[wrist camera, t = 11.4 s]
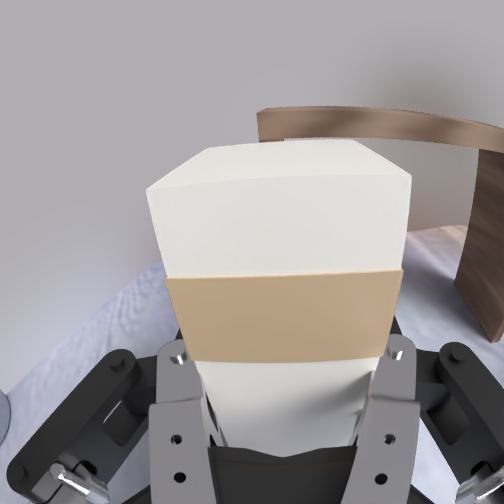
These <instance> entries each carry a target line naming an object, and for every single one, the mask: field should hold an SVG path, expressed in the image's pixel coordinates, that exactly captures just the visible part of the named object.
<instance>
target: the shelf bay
mask: <svg viewBox="0 0 504 504" xmlns="http://www.w3.org/2000/svg"><path fill="white" fill-rule="evenodd" d="M257 122H258V133H259V143H264V142H280V141H284V138H310V137H311V138H312V137H354V138H355V137H357V138H382V139H383V138H384V139H401V140H413V141H425V142H434V143H444V144H451V145H459V146H466V147H472V148H478V149H479V158H478V168H477V177H476V185H475V192H474V198H473V205H472V210H471V216H470V221H469V226H468V231H467V235H466V240H465V244H464V248H463V252H462V256H461V260H460V264H459V267H458V271H457V274H456V278H455V281H454V284H455V286H456V287H457V289H458V290H459V292H460V293H461V295H462V296H463V298H464V299H465V301H466V302H467V304H468V305H469V307H470V308H471V310H472V311H473V313H474V315H475V316H476V318H477V319H478V321H479V323H480V324H481V326H482V328H483V329H484V331H485V333H486V334H487V336H488V338H489V340H490V341H491V343H493V342H497V341H500V339H501V337H502V335H503V333H504V129H503V128H500V127H497V126H493V125H489V124H485V123H481V122H476V121H471V120H466V119H461V118H456V117H450V116H444V115H437V114H430V113H423V112H415V111H406V110H396V109H384V108H368V107H341V106H305V107H279V108H266V109H264V110H262V111H260V112H258V113H257Z"/></svg>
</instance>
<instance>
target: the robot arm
mask: <svg viewBox="0 0 504 504" xmlns="http://www.w3.org/2000/svg"><path fill="white" fill-rule="evenodd" d="M119 401H121V403H120V404H119V405H118V406H117V408H116V409H115V410H114V411H113V413H112V414H111V415H110V416H109V418H108V419H107V420H106V421H105V423H104V424H103V422H104V420H105V418H106V417H107V416H108V415H109V413H110V412H111V411H112V410H113V408H114V407H115V406H116V405H117V404H118V402H119ZM420 418H421V419H422V421H423V422H424V424H425V426H426V427H427V429H428V431H429V432H430V434H431V436H432V437H433V439H434V441H435V442H436V444H437V446H438V447H439V449H440V451H441V452H442V454H443V456H444V458H445V459H446V461H447V463H448V465H449V466H450V468H451V470H452V472H453V473H454V475H455V477H456V479H457V481H458V482H459V484H460V487H459V488H458V491H457V494H456V500H455V504H504V389H503V387H502V386H501V385H500V384H499V382H498V381H497V380H496V379H495V377H494V376H493V375H492V374H491V373H490V371H489V370H488V369H487V368H486V367H485V365H484V364H483V363H482V362H481V361H480V360H479V358H478V357H477V356H476V355H475V354H474V353H473V351H472V350H471V349H470V348H469V347H467V346H466V345H464V344H462V343H459V342H450V343H447V344H445V345H443V346H442V348H441V349H440V351H439V352H432V351H424V350H420V349H417V348H416V347H415V345H414V343H413V342H412V341H411V340H410V339H409V338H407V337H405V336H403V335H402V333H401V330H400V328H399V325H398V323H397V320H396V318H395V315H394V318H393V322H392V326H391V329H390V333H389V337H388V340H387V344H386V347H385V351H384V354H383V356H382V357H380V358H379V362H378V365H377V368H376V370H372V372H371V375H370V378H369V382H368V387H367V393H366V398H365V402H364V406H363V409H359V411H358V414H357V416H356V421H355V425H354V429H353V432H352V436H351V439H350V442H349V445H348V446H341V447H329V448H319V449H315V450H312V451H308V452H304V453H300V454H296V455H292V456H287V457H278V456H274V455H270V454H266V453H262V452H258V451H255V450H251V449H247V448H236V447H224V445H223V442H222V438H221V433H220V428H219V422H218V417H217V415H216V412H215V411H213V409H212V406H211V404H210V401H209V399H208V396H207V394H206V391H205V385H204V381H203V379H202V376H201V373H198V370H197V367H196V364H195V362H194V361H193V360H191V359H190V356H189V353H188V350H187V347H186V345H185V342H184V339H183V336H182V333H181V330H180V328H179V331H178V333H177V336H176V338H175V340H174V341H171V342H169V343H167V344H165V345H164V346H163V347H162V348H161V349H160V351H159V352H158V355H156V356H152V357H146V358H139V359H136V358H135V356H134V354H133V353H132V352H131V351H129V350H126V349H117V350H114V351H111V352H110V353H108V354H107V355H105V356H104V357H103V358H102V359H101V360H100V362H99V363H98V364H97V365H96V366H95V367H94V368H93V369H92V370H91V371H90V372H89V373H88V374H87V376H86V377H85V378H84V379H83V380H82V381H81V382H80V383H79V384H78V385H77V386H76V388H75V389H74V390H73V391H72V392H71V393H70V394H69V395H68V396H67V397H66V399H65V400H64V401H63V402H62V403H61V404H60V405H59V406H58V407H57V409H56V410H55V411H54V412H53V413H52V414H51V415H50V416H49V418H48V419H47V420H46V421H45V422H44V423H43V424H42V426H41V427H40V428H39V429H38V430H37V431H36V433H35V434H34V435H33V436H32V437H31V438H30V439H29V441H28V442H27V443H26V444H25V445H24V447H23V448H22V449H21V450H20V451H19V452H18V454H17V455H16V456H15V457H14V458H13V460H12V461H11V462H10V464H9V465H8V468H7V481H8V484H9V486H10V487H11V489H12V490H14V491H15V492H16V493H18V494H20V495H22V496H23V497H25V498H27V499H29V500H30V501H31V502H32V503H34V504H108V503H109V496H108V489H107V486H106V485H107V484H108V482H109V481H110V480H111V478H112V477H113V476H114V474H115V473H116V472H117V470H118V469H119V467H120V466H121V465H122V463H123V462H124V461H125V459H126V458H127V457H128V455H129V454H130V452H131V451H132V450H133V448H134V447H135V446H136V444H137V443H138V441H139V440H140V439H141V437H142V436H143V435H144V433H145V432H146V430H147V429H148V428H149V465H150V485H148V486H147V487H146V488H144V489H143V490H141V491H140V492H138V493H137V494H135V495H134V496H132V497H131V498H129V499H128V500H126V501H125V502H123V503H122V504H435V503H433V502H432V501H431V500H430V499H428V498H427V497H426V496H425V495H424V494H422V493H421V492H420V491H419V490H418V489H416V488H415V487H414V486H413V485H412V484H411V479H412V474H413V468H414V462H415V455H416V447H417V439H418V430H419V419H420ZM9 420H10V406H9V402H8V400H7V398H6V396H5V394H4V393H3V392H2V391H1V390H0V444H1V442H2V440H3V439H4V437H5V434H6V432H7V429H8V425H9Z"/></svg>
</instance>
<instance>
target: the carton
mask: <svg viewBox="0 0 504 504" xmlns="http://www.w3.org/2000/svg"><path fill="white" fill-rule="evenodd" d="M411 180H412V176H411V175H410V174H409V173H407V172H406V171H404V170H402V169H401V168H399V167H398V166H396V165H395V164H393V163H391V162H390V161H388V160H387V159H385V158H383V157H382V156H380V155H378V154H377V153H375V152H373V151H372V150H370V149H368V148H367V147H365V146H363V145H361V144H360V143H358V142H356V141H354V140H300V141H280V142H264V143H252V144H240V145H230V146H221V147H212V148H207V149H205V150H203V151H202V152H200V153H199V154H197V155H196V156H194V157H192V158H191V159H190V160H188V161H186V162H185V163H183V164H182V165H180V166H179V167H177V168H176V169H175V170H173V171H172V172H170V173H169V174H167V175H166V176H164V177H163V178H161V179H160V180H159V181H157V182H156V183H154V184H153V185H152V186H150V187H149V188H147V189H146V194H147V199H148V204H149V208H150V212H151V216H152V221H153V225H154V229H155V233H156V237H157V241H158V244H159V249H160V253H161V256H162V260H163V264H164V267H165V271H166V274H167V276H166V277H165V279H164V280H165V283H166V286H167V290H168V293H169V296H170V299H171V303H172V306H173V309H174V312H175V315H176V318H177V321H178V324H179V327H180V330H181V333H182V336H183V339H184V342H185V345H186V347H187V350H188V353H189V356H190V359H191V360H193V361H194V362H195V364H196V367H197V370H198V373H201V376H202V379H203V381H204V385H205V391H206V394H207V396H208V399H209V401H210V404H211V406H212V409H213V411H215V412H216V415H217V417H218V422H219V425H220V428H221V430H222V432H223V435H224V437H225V439H226V442H227V444H228V446H229V447H236V448H247V449H251V450H255V451H258V452H262V453H266V454H270V455H274V456H278V457H287V456H292V455H296V454H300V453H304V452H308V451H312V450H315V449H319V448H329V447H341V446H348V444H349V441H350V439H351V436H352V432H353V429H354V425H355V421H356V416H357V414H358V411H359V409H363V406H364V402H365V398H366V393H367V387H368V382H369V378H370V375H371V372H372V370H376V368H377V365H378V362H379V358H380V357H382V356H383V354H384V351H385V347H386V344H387V340H388V337H389V333H390V329H391V326H392V322H393V318H394V314H395V309H396V305H397V301H398V296H399V292H400V287H401V282H402V277H403V272H404V270H403V269H402V267H401V264H402V258H403V252H404V245H405V238H406V231H407V223H408V214H409V204H410V193H411Z"/></svg>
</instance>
